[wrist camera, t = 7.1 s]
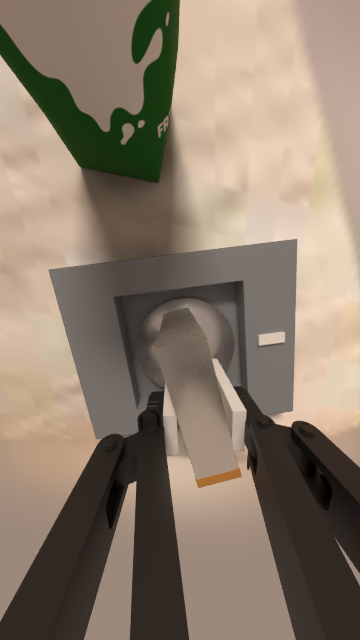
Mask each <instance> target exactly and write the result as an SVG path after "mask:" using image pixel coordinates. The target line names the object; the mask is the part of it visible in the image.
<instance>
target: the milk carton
mask: <svg viewBox="0 0 360 640" xmlns="http://www.w3.org/2000/svg"><path fill="white" fill-rule="evenodd" d="M179 6H180V0H0V55H1V57H2V58H3V59H4V61H5V62H6V63H7V65H8V66H9V67H10V69H11V70H12V71H13V73H14V74H15V75H16V77H17V78H18V79H19V81H20V82H21V83H22V85H23V86H24V87H25V88H26V90H27V91H28V92H29V94H30V95H31V96H32V98H33V99H34V100H35V102H36V103H37V104H38V106H39V107H40V108H41V110H42V111H43V113H44V114H45V115H46V117H47V118H48V120H49V121H50V123H51V124H52V126H53V127H54V129H55V130H56V132H57V133H58V135H59V136H60V138H61V139H62V141H63V142H64V144H65V145H66V147H67V148H68V150H69V151H70V153H71V154H72V156H73V157H74V159H75V160H76V162H77V163H78V165H79V166H80V167H83V168H88V169H93V170H98V171H103V172H108V173H113V174H118V175H123V176H128V177H133V178H138V179H143V180H148V181H153V182H157V183H158V182H159V176H160V170H161V165H162V159H163V153H164V147H165V141H166V136H167V130H168V124H169V118H170V112H171V104H172V96H173V87H174V78H175V70H176V61H177V51H178V35H179Z"/></svg>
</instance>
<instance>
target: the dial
mask: <svg viewBox="0 0 360 640" xmlns="http://www.w3.org/2000/svg"><path fill="white" fill-rule="evenodd" d="M234 347H235V341H234V334H233V331H232V328H231V326H230V323H229V322H228V320H227V318H226V317H225V316H224V315H223V314H222V313H221V312H220V311H219V310H218V309H217V308H215V307H214V306H212V305H211V304H209V303H207V302H205V301H202V300H200V299H196V298H189V297H182V298H175V299H171V300H168V301H166V302H164V303H162V304H160V305H159V306H157V307H156V308H155V309H154V310H153V311H151V313H150V314H149V315H148V316H147V318H146V319H145V320H144V322H143V324H142V325H141V328H140V330H139V333H138V336H137V342H136V350H137V356H138V360H139V363H140V365H141V367H142V369H143V370H144V372H145V373H146V374H147V376H148V377H149V378H150V379H151V380H153V381H154V382H155V383H157V384H158V385H160V386H162V387H164V388H165V383H166V386H167V389H168V392H169V395H170V398H171V401H172V404H173V408H174V411H175V414H176V417H177V420H178V423H179V426H180V429H181V432H182V436H183V439H184V442H185V445H186V448H187V451H188V454H189V457H190V460H191V464H192V466H193V470H194V473H195V476H196V482H197V485H198V487H199V488H200V487H204V486H207V485H212V484H216V483H219V482H223V481H227V480H231V479H235V478H238V477H241V473H240V468H239V466H238V463H237V460H236V456H235V451H234V447H233V443H232V439H231V435H230V431H229V427H228V423H227V419H226V414H225V410H224V406H223V402H222V398H221V394H220V390H219V386H218V382H217V378H216V373H215V369H214V365H213V361H212V359H217V360H218V361H219V363H220V365H221V367H222V368H223V370H224V372H225V371H226V370H227V368H228V366H229V365H230V363H231V360H232V357H233V354H234Z"/></svg>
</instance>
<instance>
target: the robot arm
mask: <svg viewBox="0 0 360 640" xmlns="http://www.w3.org/2000/svg"><path fill="white" fill-rule="evenodd" d="M212 361H213V365H214V369H215V373H216V378H217V382H218V386H219V390H220V394H221V398H222V402H223V406H224V410H225V414H226V419H227V423H228V427H229V431H230V435H231V439H232V443H233V447H234V451H244V447H245V445H246V447H247V449H248V458H247V469H248V470H249V467H250V468H251V472H252V476H253V480H254V483H255V487H256V491H257V495H258V499H259V502H260V506H261V510H262V514H263V517H264V521H265V525H266V529H267V533H268V536H269V540H270V544H271V547H272V551H273V555H274V559H275V562H276V566H277V570H278V574H279V578H280V582H281V585H282V589H283V593H284V597H285V600H286V604H287V608H288V612H289V615H290V619H291V623H292V627H293V631H294V634H295V638H296V640H360V586H359V584H358V582H357V580H356V578H355V576H354V574H353V572H352V570H351V568H350V567H349V564H348V563H347V561H346V559H345V557H344V555H343V553H342V551H341V549H340V547H339V545H338V543H339V544H340V545H341V547H342V548H343V550H344V551H345V553H346V554H347V556H348V557H349V558H350V560H351V561H352V563H353V564H354V566H355V567H356V569H357V570H358V572H359V573H360V467H359V466H357V465H356V464H355V463H354V462H353V461H352V460H351V459H350V458H349V457H348V456H347V455H346V454H344V453H343V452H342V451H341V450H340V449H339V448H338V447H337V446H336V445H335V444H334V443H333V442H331V441H330V440H329V439H328V438H327V437H326V436H325V435H324V434H323V433H322V432H321V431H320V430H318V429H317V428H316V427H314V426H313V425H311V424H309V423H307V422H303V421H295V422H293V424H292V427H287V426H281V425H278V424H275V423H274V421H273V420H272V419H271V418H269V417H268V416H266V415H263V413H262V412H261V410H260V409H259V408H258V406H257V405H256V403H255V402H254V400H253V399H252V397H251V396H250V394H249V393H248V391H247V390H246V389H245V388H243V387H242V386H232V384H231V383H230V381H229V379H228V377H227V376H226V374H225V372H224V370H223V368H222V367H221V365H220V363H219V361H218V360H217V359H212ZM137 422H138V432H137V433H135V434H134V435H131V436H129V437H126V438H123V437H122V436H121V435H120V434H116V433H115V434H110V435H108V436H106V437H104V438H103V439H102V440H101V441H100V442H99V443H98V445H97V446H96V448H95V450H94V452H93V454H92V456H91V457H90V459H89V461H88V463H87V465H86V467H85V469H84V470H83V472H82V474H81V476H80V477H79V479H78V481H77V483H76V485H75V487H74V488H73V490H72V492H71V494H70V496H69V498H68V499H67V501H66V503H65V505H64V507H63V509H62V510H61V512H60V514H59V516H58V518H57V519H56V521H55V523H54V525H53V527H52V529H51V530H50V532H49V534H48V536H47V538H46V540H45V541H44V543H43V545H42V547H41V549H40V550H39V552H38V554H37V556H36V558H35V560H34V561H33V563H32V565H31V567H30V569H29V571H28V573H27V574H26V576H25V578H24V580H23V581H22V583H21V585H20V587H19V589H18V590H17V593H16V594H15V596H14V598H13V600H12V601H11V603H10V605H9V607H8V609H7V611H6V612H5V614H4V616H3V618H2V620H1V622H0V640H84V637H85V633H86V630H87V627H88V623H89V619H90V616H91V613H92V609H93V605H94V602H95V599H96V595H97V592H98V588H99V585H100V582H101V578H102V575H103V571H104V568H105V564H106V561H107V557H108V554H109V550H110V547H111V543H112V540H113V537H114V533H115V530H116V526H117V522H118V519H119V516H120V512H121V509H122V505H123V502H124V498H125V495H126V491H127V488H128V484H130V483H133V482H135V481H137V484H136V508H135V532H134V556H133V580H132V604H131V627H130V640H189V635H188V627H187V618H186V611H185V602H184V594H183V586H182V578H181V570H180V562H179V555H178V546H177V538H176V530H175V521H174V513H173V505H172V497H171V489H170V481H169V473H168V465H167V457H166V456H177V455H179V451H178V421H177V417H176V414H175V411H174V408H173V404H172V401H171V398H170V395H169V392H168V389H167V386H166V383H165V391H156V392H152V393H151V394H150V396H149V398H148V403H147V407H146V410H144V411H143V412H141V413H140V415H139V416H138V419H137ZM333 535H334V536H333ZM334 537H335V538H336V540H337V541H338V543H337V541H336V540H335V538H334Z"/></svg>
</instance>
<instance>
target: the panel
mask: <svg viewBox="0 0 360 640" xmlns="http://www.w3.org/2000/svg"><path fill="white" fill-rule="evenodd" d="M296 266H297V239H293V240H285V241H277V242H268V243H260V244H252V245H244V246H236V247H228V248H220V249H212V250H204V251H196V252H187V253H179V254H171V255H163V256H155V257H147V258H139V259H131V260H123V261H114V262H106V263H98V264H90V265H82V266H74V267H66V268H58V269H50V270H49V273H50V277H51V280H52V284H53V287H54V291H55V295H56V298H57V302H58V305H59V309H60V312H61V316H62V319H63V323H64V327H65V330H66V334H67V337H68V341H69V344H70V348H71V351H72V355H73V358H74V362H75V366H76V369H77V373H78V376H79V380H80V383H81V387H82V390H83V394H84V398H85V401H86V405H87V408H88V412H89V415H90V419H91V422H92V426H93V429H94V433H95V437H96V439H103V438H104V437H106V436H108V435H110V434H115V433H116V434H120V435H121V436H124V435H130V434H135V433H137V432H138V422H137V419H138V416H139V415H140V413H141V412H143V411H144V410H146V407H147V403H148V398H149V396H150V394H151V393H152V392H156V391H165V388H164V387H162V386H160V385H158V384H157V383H155V382H154V381H153V380H151V379H150V378H149V377H148V376H147V374H146V373H145V372H144V370H143V369H142V367H141V365H140V363H139V360H138V356H137V350H136V342H137V336H138V333H139V330H140V328H141V325H142V324H143V322H144V320H145V319H146V318H147V316H148V315H149V314H150V313H151V311H153V310H154V309H155V308H156V307H157V306H159V305H160V304H162V303H164V302H166V301H168V300H171V299H175V298H182V297H189V298H196V299H200V300H202V301H205V302H207V303H209V304H211V305H212V306H214V307H215V308H217V309H218V310H219V311H220V312H221V313H222V314H223V315H224V316H225V317H226V318H227V320H228V322H229V323H230V326H231V328H232V331H233V334H234V341H235V347H234V354H233V357H232V360H231V363H230V365H229V366H228V368H227V370H226V371H225V374H226V376H227V377H228V379H229V381H230V383H231V384H232V386H242V387H243V388H245V389H246V390H247V391H248V393H249V394H250V396H251V397H252V399H253V400H254V402H255V403H256V405H257V406H258V408H259V409H260V410H261V412H262V413H263V415H269V414H276V413H283V412H290V411H293V385H294V345H295V306H296ZM177 421H178V420H177ZM179 427H180V426H179V423H178V428H179Z"/></svg>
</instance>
